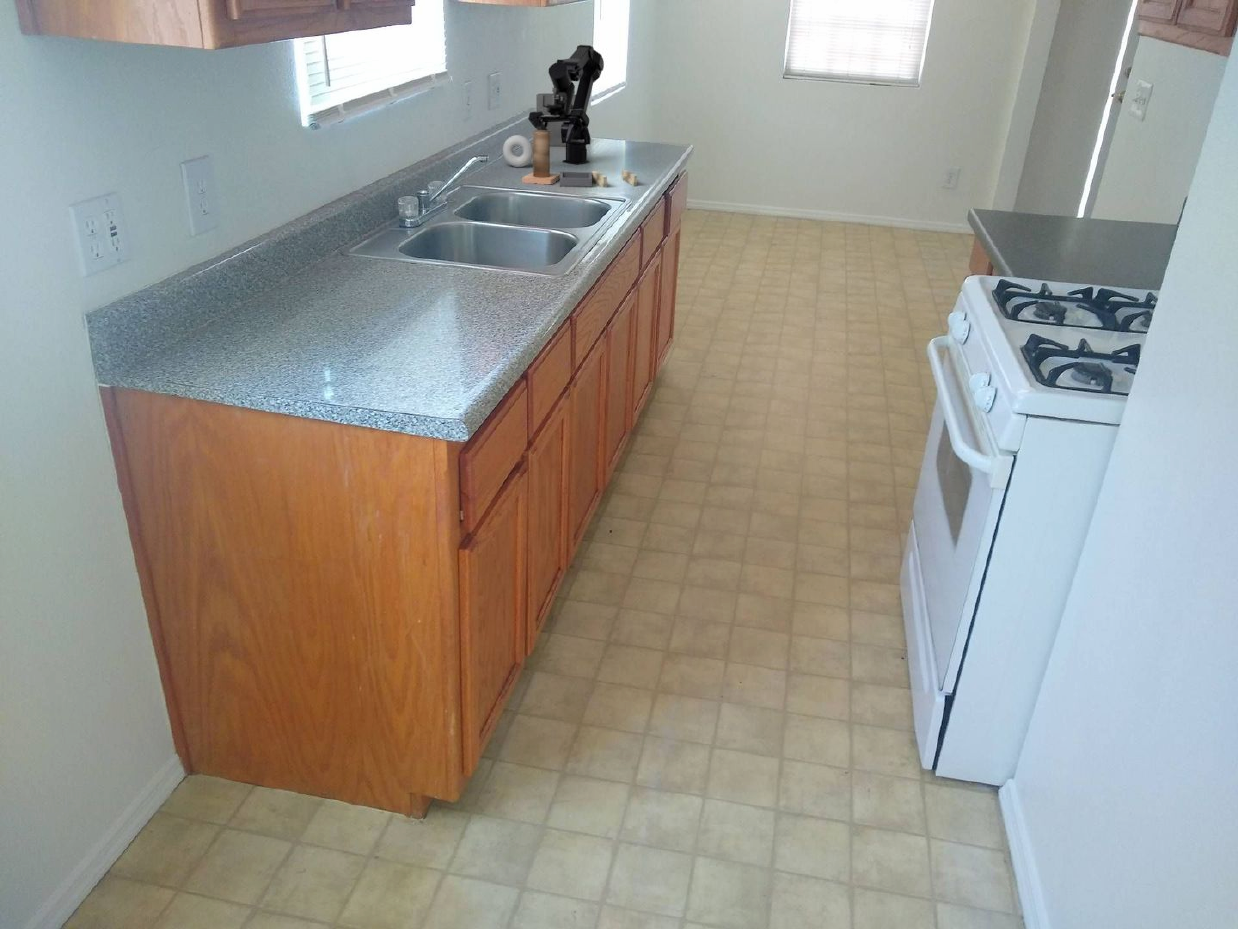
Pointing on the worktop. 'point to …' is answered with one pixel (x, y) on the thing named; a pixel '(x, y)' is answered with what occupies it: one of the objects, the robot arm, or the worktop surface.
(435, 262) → the worktop surface
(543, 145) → the walnut post
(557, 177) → the pad
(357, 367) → the worktop surface
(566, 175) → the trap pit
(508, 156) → the donut
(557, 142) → the flask
